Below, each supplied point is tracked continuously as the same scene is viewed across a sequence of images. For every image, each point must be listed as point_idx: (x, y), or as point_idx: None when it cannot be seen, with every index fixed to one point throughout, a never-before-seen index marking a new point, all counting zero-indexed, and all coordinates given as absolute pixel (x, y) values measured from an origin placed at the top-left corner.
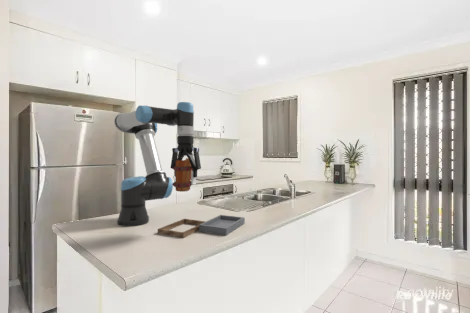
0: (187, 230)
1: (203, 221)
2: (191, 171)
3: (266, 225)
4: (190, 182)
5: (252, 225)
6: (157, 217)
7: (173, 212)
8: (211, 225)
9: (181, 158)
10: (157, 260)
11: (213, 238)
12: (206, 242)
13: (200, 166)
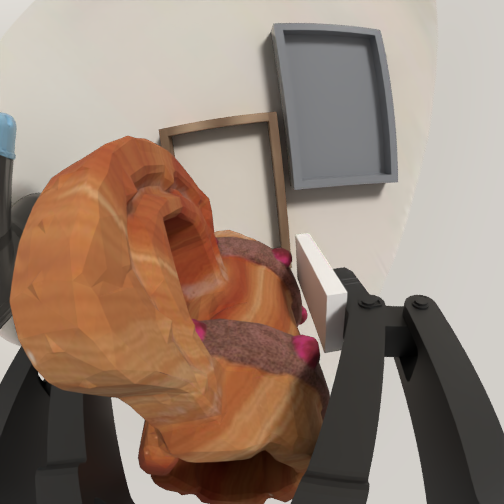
0: (284, 241)
1: (258, 118)
2: (327, 345)
3: (431, 41)
4: (299, 293)
5: (402, 50)
6: (42, 151)
7: (38, 71)
8: (307, 130)
9: (101, 461)
10: (325, 367)
11: (367, 219)
12: (365, 254)
13: (438, 316)
